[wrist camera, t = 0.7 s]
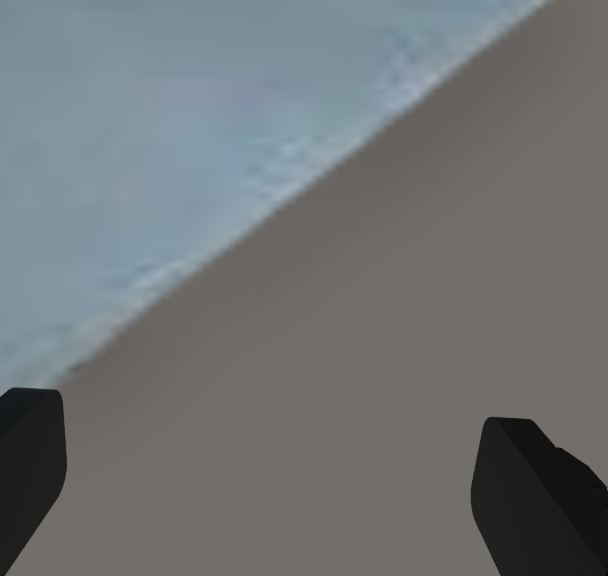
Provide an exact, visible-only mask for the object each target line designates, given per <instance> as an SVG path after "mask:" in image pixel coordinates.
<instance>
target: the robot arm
mask: <svg viewBox="0 0 608 576" xmlns="http://www.w3.org/2000/svg"><path fill="white" fill-rule="evenodd" d="M66 470H67V456H66V441H65V427H64V412H63V401H62V397H61V394H60V393H59V391H57V390H52V389H35V388H19V387H14V388H11V389H9V390H8V391H7V392H6V393H4V394H3V395H2V396H1V397H0V576H5V575H6V573H7V572H8V570H9V569H10V567H11V566H12V564H13V563H14V561H15V560H16V559H17V557H18V555H19V554H20V553H21V551H22V550H23V548H24V547H25V545H26V544H27V542H28V541H29V539H30V538H31V537H32V535H33V534H34V532H35V531H36V529H37V528H38V526H39V525H40V523H41V522H42V520H43V519H44V517H45V516H46V515H47V513H48V511H49V510H50V509H51V507H52V506H53V504H54V503H55V501H56V500H57V498H58V497H59V494H60V492H61V490H62V487H63V484H64V481H65V476H66ZM471 506H472V512H473V516H474V519H475V522H476V524H477V526H478V529H479V531H480V533H481V535H482V537H483V539H484V541H485V543H486V545H487V547H488V550H489V552H490V554H491V556H492V558H493V560H494V563H495V565H496V567H497V569H498V571H499V573H500V575H501V576H608V491H607V487H606V485H605V484H604V483H603V482H602V481H601V480H600V479H599V478H598V477H597V475H596V474H595V473H594V472H593V471H592V470H591V469H590V468H589V467H588V466H587V465H586V464H584V463H583V462H581V461H580V460H578V459H577V458H575V457H574V456H572V455H571V454H570V453H568V452H567V451H565V450H563V449H562V448H557V447H555V446H554V444H553V443H552V442H551V441H550V440H549V439H548V437H547V436H546V435H545V434H544V433H543V432H542V430H540V428H539V427H538V426H537V425H536V423H535V422H533V421H532V420H530V419H521V418H502V417H489V418H487V420H486V421H485V423H484V426H483V429H482V434H481V440H480V444H479V449H478V454H477V460H476V465H475V470H474V475H473V480H472V486H471Z"/></svg>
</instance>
